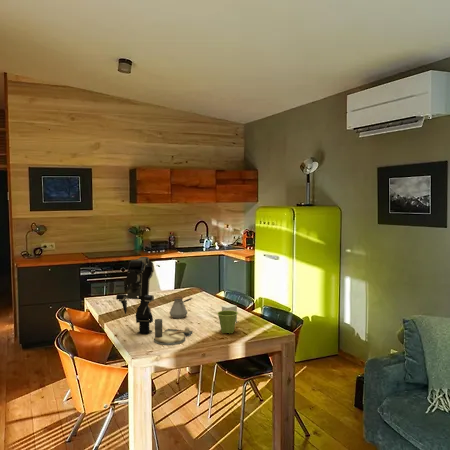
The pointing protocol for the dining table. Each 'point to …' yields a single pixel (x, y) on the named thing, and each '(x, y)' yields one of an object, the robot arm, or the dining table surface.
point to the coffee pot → (179, 308)
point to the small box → (230, 308)
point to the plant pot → (227, 321)
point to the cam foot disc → (168, 333)
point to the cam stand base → (174, 342)
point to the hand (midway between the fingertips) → (134, 314)
